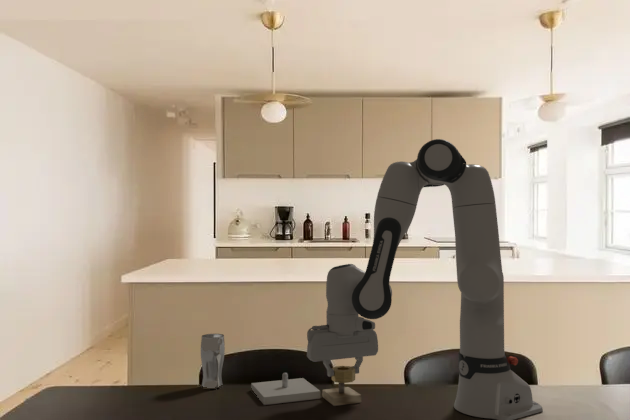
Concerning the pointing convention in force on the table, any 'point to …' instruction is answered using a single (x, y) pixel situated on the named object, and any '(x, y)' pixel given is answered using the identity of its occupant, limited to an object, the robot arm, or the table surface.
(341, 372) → the collar
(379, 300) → the robot arm
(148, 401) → the table surface
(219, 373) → the beer glass
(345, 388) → the stand
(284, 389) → the block
